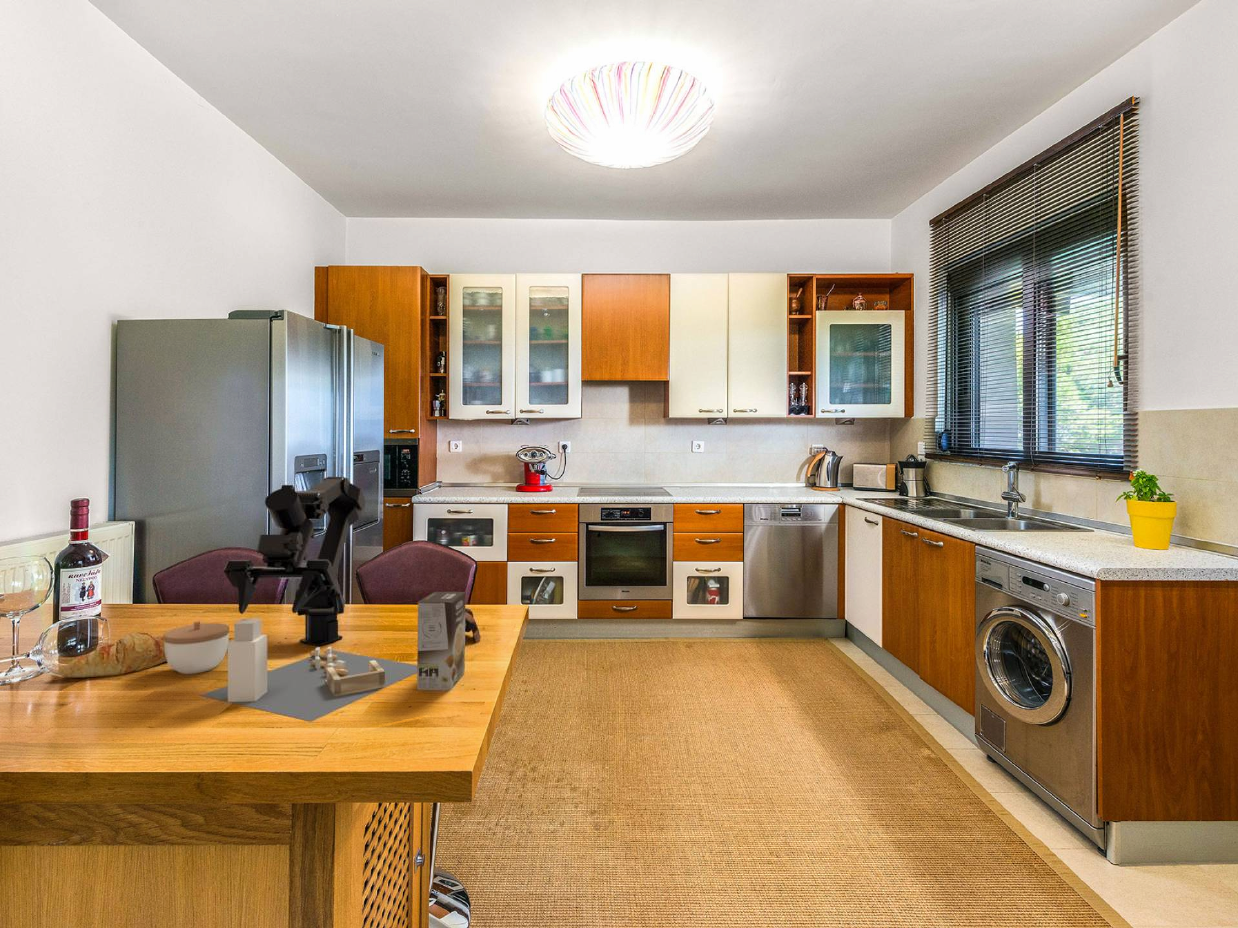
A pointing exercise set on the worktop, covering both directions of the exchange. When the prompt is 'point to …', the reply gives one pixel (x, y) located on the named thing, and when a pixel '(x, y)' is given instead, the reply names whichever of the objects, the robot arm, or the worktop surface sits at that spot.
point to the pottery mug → (471, 625)
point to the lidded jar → (196, 646)
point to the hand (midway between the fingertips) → (267, 612)
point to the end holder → (356, 680)
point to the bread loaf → (118, 657)
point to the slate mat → (315, 686)
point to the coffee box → (441, 640)
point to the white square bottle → (247, 662)
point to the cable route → (328, 661)
